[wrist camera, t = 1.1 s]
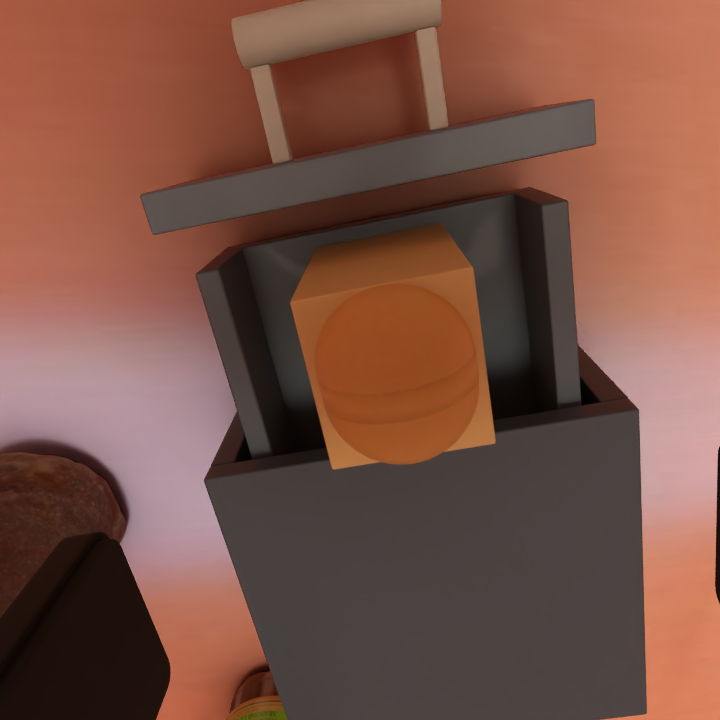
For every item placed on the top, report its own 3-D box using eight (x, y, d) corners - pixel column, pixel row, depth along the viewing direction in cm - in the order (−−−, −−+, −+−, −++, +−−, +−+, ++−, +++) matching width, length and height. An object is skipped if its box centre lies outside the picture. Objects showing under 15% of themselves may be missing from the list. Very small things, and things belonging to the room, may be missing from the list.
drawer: (151, 56, 20) (86, 34, 15) (534, -34, 19) (586, -87, 14) (273, 468, 26) (251, 540, 21) (569, 420, 25) (612, 485, 20)
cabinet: (244, 394, 26) (202, 480, 19) (570, 336, 24) (640, 409, 18) (314, 626, 31) (298, 755, 24) (588, 589, 29) (647, 715, 23)
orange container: (315, 247, 21) (278, 324, 13) (441, 222, 21) (487, 284, 12) (344, 371, 23) (327, 509, 15) (459, 350, 22) (510, 482, 14)
